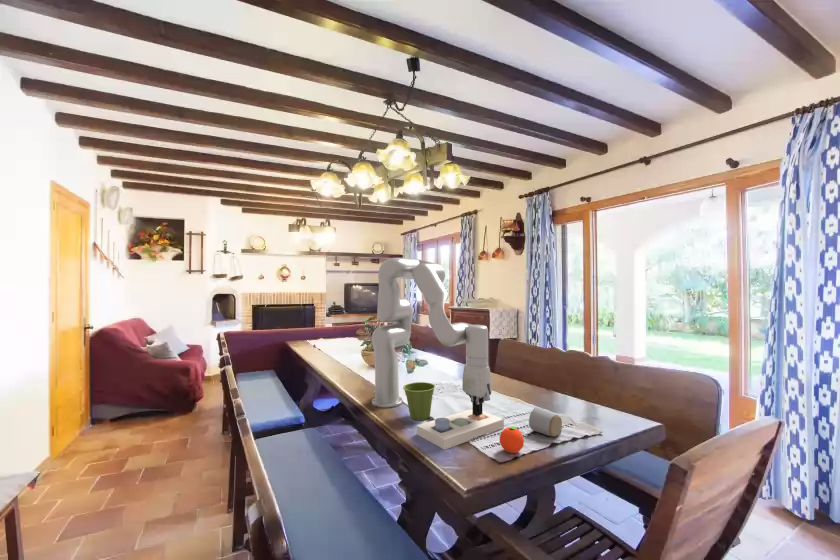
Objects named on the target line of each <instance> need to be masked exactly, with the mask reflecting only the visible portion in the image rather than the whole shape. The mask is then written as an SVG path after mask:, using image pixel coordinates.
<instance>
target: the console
mask: <svg viewBox="0 0 840 560" xmlns="http://www.w3.org/2000/svg"><path fill="white" fill-rule="evenodd" d="M472 414H473V408H470V409H466V410H464V411H460V412H458V413H453V414H450V415H447V416H443V417H442V418H447V419H449V423H450V430H449V431H446V432H443V433H440V432H438V431H436V430H435V419H433V420H430V421H427V422H424V423H420V424H417V425H416V435H417V436H418V437H421V438H423V439H424V440H426V441H428V442H429V443H432V444H434V446H437V447H439V448H440V449H442V450H448V449H450V448H454V447H457V446H458V445H462V444H464V443H467V442H469V441H468V440H470V439H472V438H475V437H478V436H481V435H484V434H486V435H488V434H487V433H489V434H491V432H492V433H493V432H497V431H500V430H502V429H503V430H504V429H505V425H504V424H505V423H504V422H505V421H504V418H502V417H499V416H497V415H494V414H491V413H487V412H485V411H483V410H482V414H484V415H485V419H483V420H480V421H477V420H475V419H472V418H471V415H472ZM457 418H464V419H467V420H468V425H465V426H462V427H460V426H457V425H455V424H454V420H455V419H457ZM484 436H485V435H484ZM481 437H482V436H481ZM478 438H479V437H478ZM475 439H476V438H475ZM470 441H471V440H470Z"/></svg>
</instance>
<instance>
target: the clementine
mask: <svg viewBox="0 0 840 560" xmlns="http://www.w3.org/2000/svg"><path fill="white" fill-rule="evenodd" d="M499 443H500V446H501V448H502V449H503V450H504V451H506V452H507V453H509V454H510V453H511V454H516V453H518V452H520V451H521V450H522V449H523V447H524V443H525V437H524V436H523V434H522V432H521V431H520V429H519V427H517V426H514V425H513V426H509V427H508V426H507V427H506V428H503V430H502V431H501V433H500V435H499Z"/></svg>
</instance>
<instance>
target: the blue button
mask: <svg viewBox="0 0 840 560" xmlns="http://www.w3.org/2000/svg"><path fill="white" fill-rule="evenodd" d="M434 420H435V430H436V431H438V432H440V433H443V432H446V431H449V430H450V423H449V419H447V418H443V417H438V418H436V419H434Z"/></svg>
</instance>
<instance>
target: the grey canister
mask: <svg viewBox="0 0 840 560" xmlns="http://www.w3.org/2000/svg"><path fill="white" fill-rule="evenodd" d="M528 426H529V428H530V429H531V430H532V431H534V432H537V433H540V434H542V435H545V436H548V437H553V438H554V437H556V436H558V435H559V434H560V432H561V431H562V430H563V421H562V417H561V416H560V415H559V414H557V413H556V412H552V411H550V410H547V409H544V408H543V407H539V406H535V407H534V408H533V409H532V410H531V411H530V414H529V418H528Z"/></svg>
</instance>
